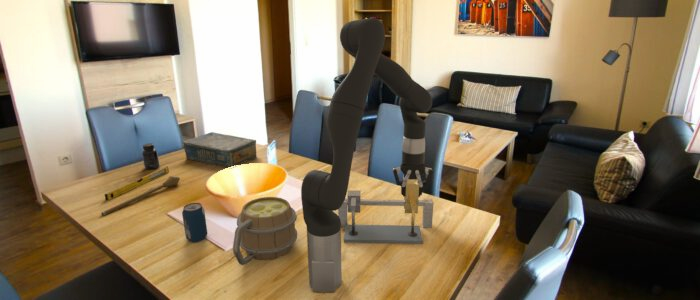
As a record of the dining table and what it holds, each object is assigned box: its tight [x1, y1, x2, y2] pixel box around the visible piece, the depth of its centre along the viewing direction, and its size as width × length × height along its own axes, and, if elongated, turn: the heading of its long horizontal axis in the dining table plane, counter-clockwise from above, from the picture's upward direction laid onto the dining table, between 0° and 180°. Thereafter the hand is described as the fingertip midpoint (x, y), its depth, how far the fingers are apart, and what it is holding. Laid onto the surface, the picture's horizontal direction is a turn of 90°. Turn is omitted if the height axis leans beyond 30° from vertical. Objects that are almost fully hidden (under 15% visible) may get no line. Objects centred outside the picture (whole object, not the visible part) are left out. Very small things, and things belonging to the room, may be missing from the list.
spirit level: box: [104, 166, 169, 201], centre depth 182 cm, size 33×1×3 cm, turn 159°
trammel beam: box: [337, 189, 434, 233], centre depth 141 cm, size 11×33×12 cm, turn 87°
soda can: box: [181, 202, 208, 244], centre depth 137 cm, size 7×7×12 cm
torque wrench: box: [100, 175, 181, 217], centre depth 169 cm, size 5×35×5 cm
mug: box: [232, 196, 298, 266], centre depth 128 cm, size 19×25×15 cm
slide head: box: [403, 178, 420, 234], centre depth 140 cm, size 11×4×15 cm, turn 177°
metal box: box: [182, 131, 257, 168], centre depth 214 cm, size 21×32×10 cm, turn 62°
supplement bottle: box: [141, 142, 160, 171], centre depth 200 cm, size 7×7×12 cm
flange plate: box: [343, 224, 424, 245], centre depth 140 cm, size 10×26×1 cm, turn 87°
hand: (411, 195), depth 142 cm, fingers closed on slide head, 4 cm apart
